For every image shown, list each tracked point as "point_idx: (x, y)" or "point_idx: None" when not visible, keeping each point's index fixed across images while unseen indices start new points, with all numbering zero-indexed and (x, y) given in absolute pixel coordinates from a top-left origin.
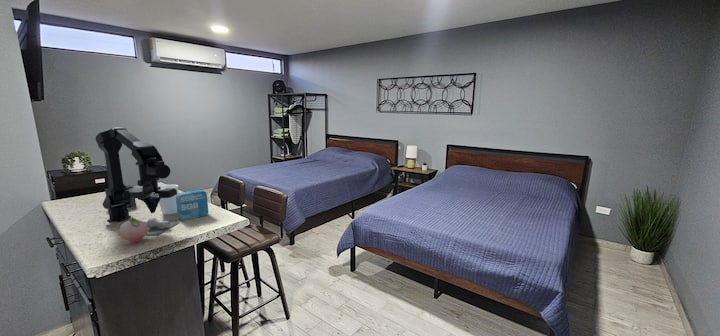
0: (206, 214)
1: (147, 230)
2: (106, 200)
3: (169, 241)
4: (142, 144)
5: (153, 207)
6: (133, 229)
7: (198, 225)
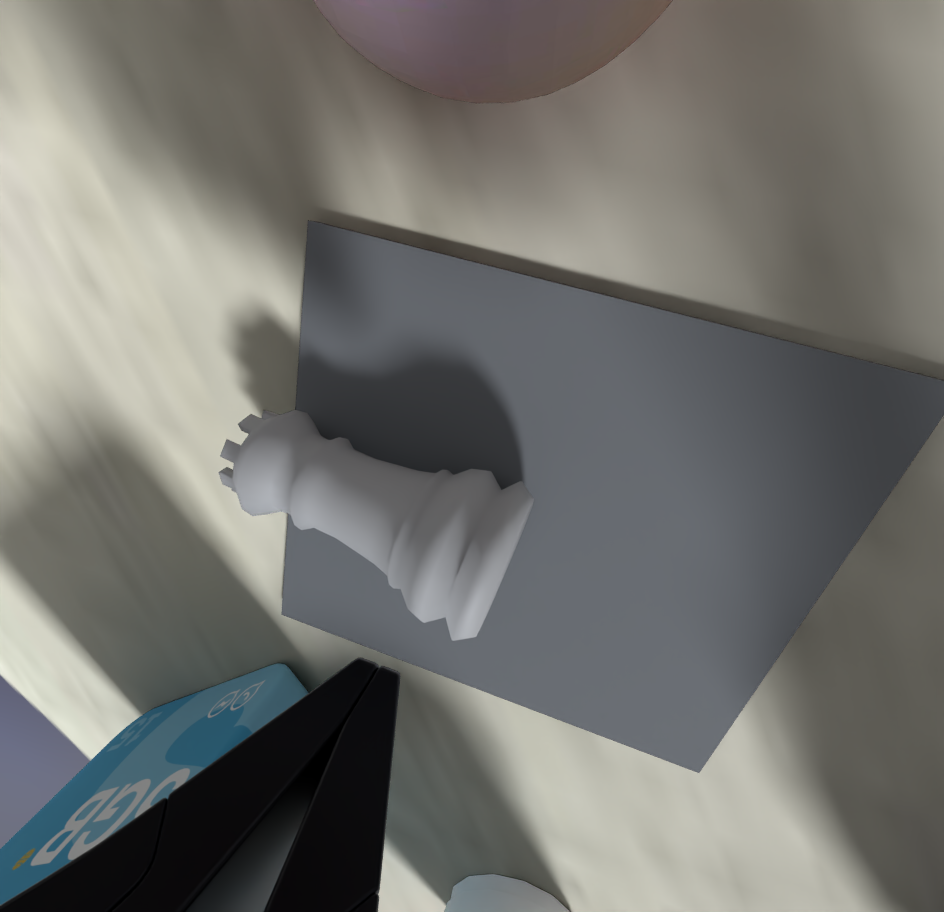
0: (142, 716)
1: None
2: None
3: None
4: None
5: (219, 761)
6: None
7: (64, 465)
